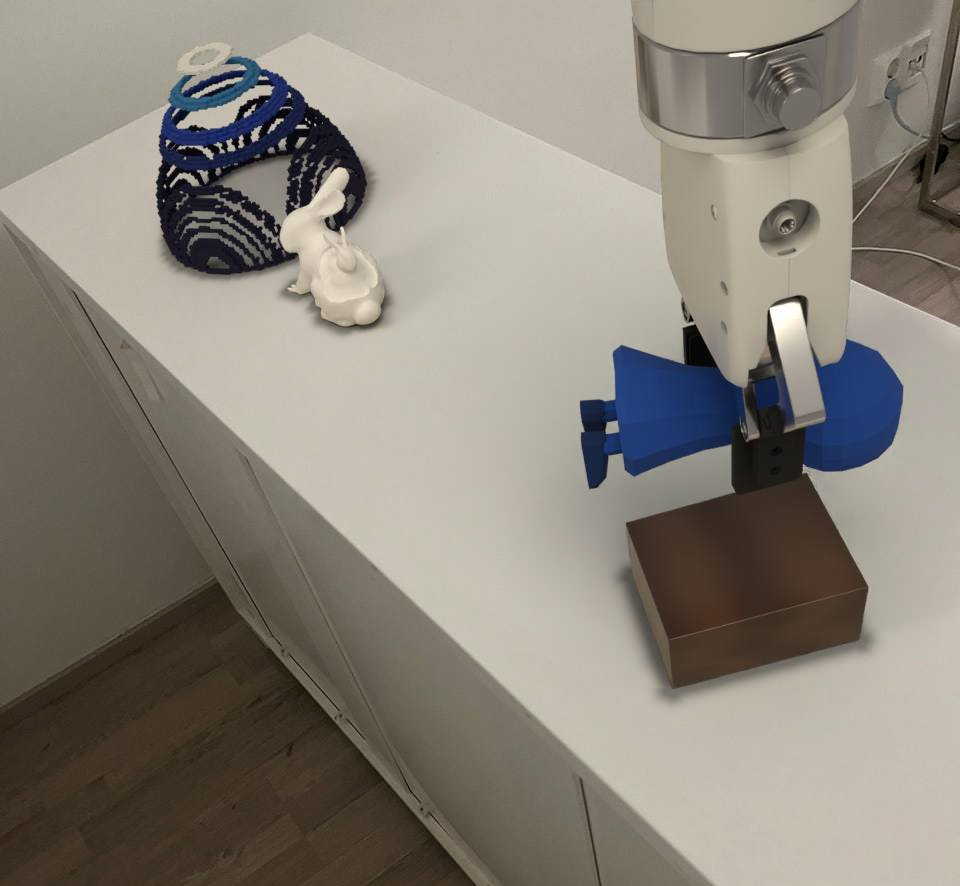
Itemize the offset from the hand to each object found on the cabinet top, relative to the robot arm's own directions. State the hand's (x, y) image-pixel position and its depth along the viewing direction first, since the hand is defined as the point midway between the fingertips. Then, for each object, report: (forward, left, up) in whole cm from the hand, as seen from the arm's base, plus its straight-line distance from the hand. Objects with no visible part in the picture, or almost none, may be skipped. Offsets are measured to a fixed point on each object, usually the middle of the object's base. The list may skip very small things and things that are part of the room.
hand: (740, 429), depth 49 cm
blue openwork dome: (+27, -60, -15) cm, 67 cm away
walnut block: (0, 0, -14) cm, 14 cm away
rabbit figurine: (+20, -42, -15) cm, 49 cm away
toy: (0, 0, -1) cm, 1 cm away
